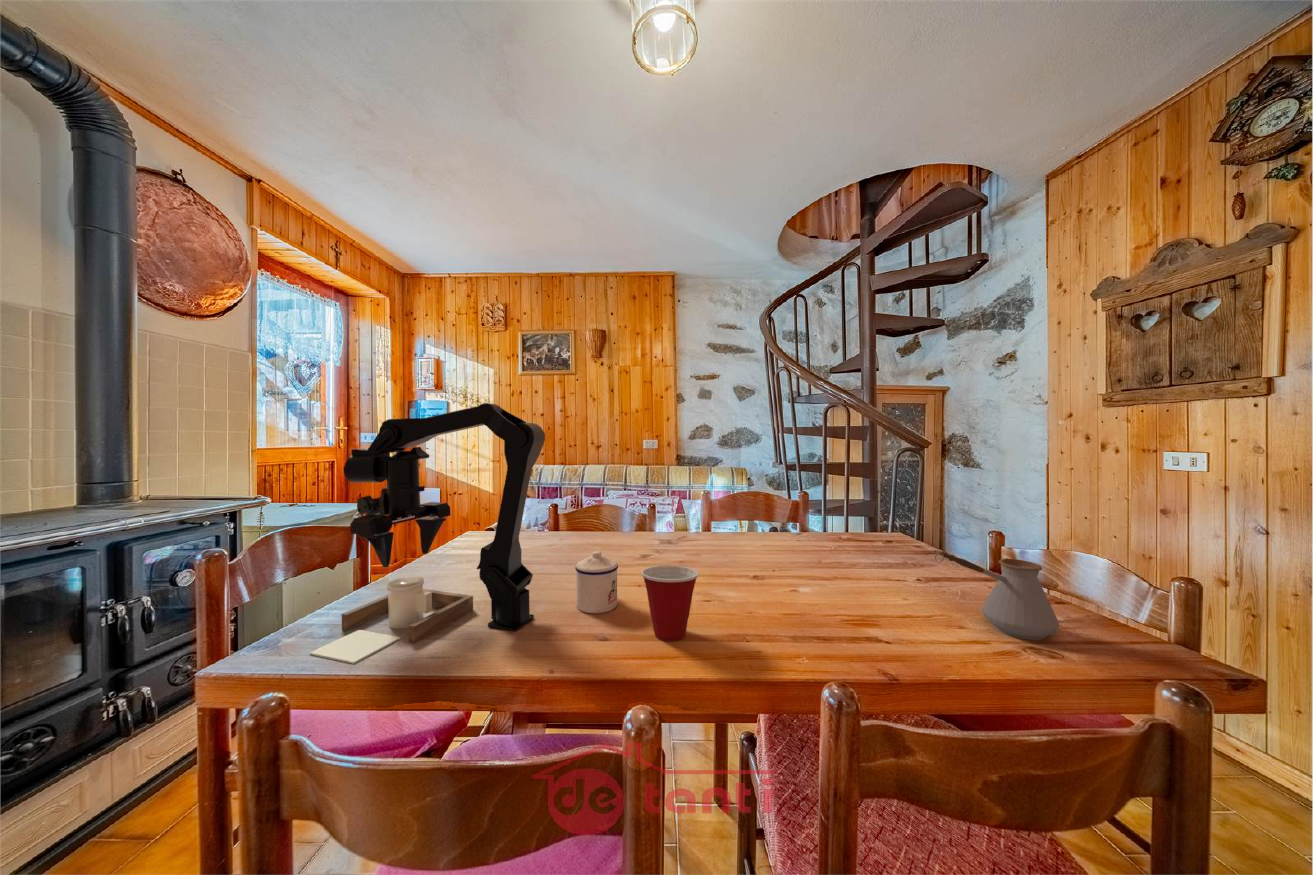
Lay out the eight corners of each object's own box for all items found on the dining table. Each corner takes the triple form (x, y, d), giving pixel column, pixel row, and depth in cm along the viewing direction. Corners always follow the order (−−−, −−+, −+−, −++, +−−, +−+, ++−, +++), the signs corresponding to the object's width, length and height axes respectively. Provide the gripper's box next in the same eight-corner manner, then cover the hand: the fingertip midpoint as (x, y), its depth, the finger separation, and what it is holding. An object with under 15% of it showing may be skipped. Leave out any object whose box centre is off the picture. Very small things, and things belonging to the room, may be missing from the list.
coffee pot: (1024, 618, 92) (1026, 544, 91) (1076, 645, 80) (1079, 561, 80) (918, 617, 92) (919, 543, 91) (955, 644, 80) (956, 561, 80)
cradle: (473, 609, 95) (473, 595, 95) (414, 643, 81) (414, 626, 80) (408, 600, 100) (407, 586, 100) (341, 629, 86) (341, 614, 86)
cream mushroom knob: (379, 626, 87) (378, 585, 87) (406, 613, 93) (406, 574, 93) (416, 633, 85) (415, 590, 84) (441, 619, 91) (441, 579, 90)
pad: (400, 638, 82) (400, 637, 82) (353, 663, 74) (353, 662, 74) (359, 631, 85) (358, 629, 85) (309, 654, 77) (309, 652, 77)
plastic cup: (697, 621, 90) (697, 561, 89) (700, 648, 79) (701, 580, 79) (642, 620, 90) (642, 560, 90) (638, 647, 79) (638, 579, 79)
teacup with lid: (617, 614, 93) (617, 558, 93) (573, 615, 92) (573, 558, 92) (618, 592, 105) (618, 542, 105) (579, 593, 104) (578, 543, 104)
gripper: (411, 476, 101) (414, 545, 102) (327, 487, 84) (330, 571, 84) (451, 477, 98) (453, 548, 98) (371, 489, 80) (375, 576, 81)
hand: (406, 560), depth 90 cm, fingers open, 9 cm apart
